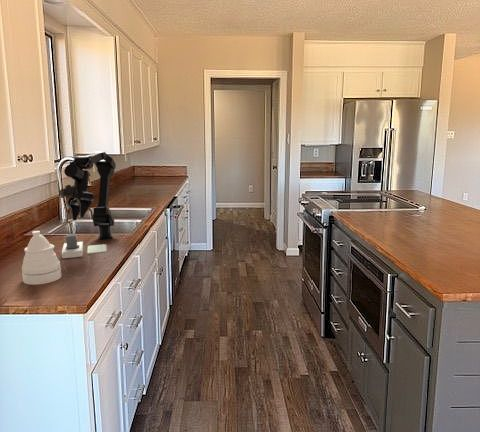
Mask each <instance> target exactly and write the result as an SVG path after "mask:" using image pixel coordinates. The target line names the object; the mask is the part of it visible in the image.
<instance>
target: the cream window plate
mask: <svg viewBox="0 0 480 432" xmlns="http://www.w3.org/2000/svg"><path fill="white" fill-rule="evenodd" d="M77 245H78V249H68V250H67V242H64V243H63V246H62V250H61V259H69V258H79V257H80V258H81V257H83V252H84V241H77Z"/></svg>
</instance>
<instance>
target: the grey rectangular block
mask: <svg viewBox="0 0 480 432" xmlns="http://www.w3.org/2000/svg"><path fill="white" fill-rule="evenodd" d="M77 237H78V236H77V233H71V234H66V236H65V239H66V243H67V250H68V249H78V245H77V242H78V238H77Z"/></svg>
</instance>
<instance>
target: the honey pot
mask: <svg viewBox="0 0 480 432" xmlns="http://www.w3.org/2000/svg"><path fill="white" fill-rule="evenodd" d="M31 234H32V235H33V236H32V237H31V238H30V240H29V242H28V244H27V246H26V247H25V248H23V249H24V250H23V251H24V252H25V253H24V254H25V255H24V257H23V261H22V265H21V274H22V282H23V283H24V284H25V285H33V286H34V285H43V284H48V283H53V282H56V281H58V280H59V279H61V278H62V268H61V261H60V260H59V259H58V256H57V254H56V252H55V251H54V248H55V245H54V244H52V243H50V242H49V240H48V239H47V238H46V237H45V236H44V235H43V234H41V231H40V230H33V231H32V232H31Z"/></svg>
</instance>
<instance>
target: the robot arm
mask: <svg viewBox="0 0 480 432" xmlns="http://www.w3.org/2000/svg"><path fill="white" fill-rule="evenodd" d="M93 167H96V168H97V169H96V170H97V173H98V175H99V187H98V198H97V199H98V201H97V206H96V207H93V209H92V211H93V213H92V217H91V218H92V223H93V226H94V227H98V240H105V239H106V240H107V239H113V234H112V230H111V229H112V226H115V219H114V217H113V216H112V211H111V210H110V207H109V200H110V184H111V178H112V176H113V175H114V174H115V169H116V162H115V160H114V159H113V157H111V156H110V155H109V154H107V152H106V151H103V150H102V151H100V150H99V151H97V150H96V151H94V152H93V153H90V154H88V155H78V156H77V155H76V156H74V158H73V160H72V161H70V162H69V164H68V165H66V166H65V168H64V170H63V171H64V172H63V173H64V174H65V177H68V178H69V179H71V180H73V181H74V182H73V185H70V184H67V185H65V186H64V188H60V189H59V191H58V192H59V195H60V198H61V199H63V198H64V199H65V198H67V197H70V198H68V199H66V201H65V205H66V206H67V207H68V208H69V209H70V213H71V217H72V221H77V218H78V216H79V217H80V218H84V217H85V215H86V213H87V211H88V210H89V208H90V206H91V205H92V203H93V202H94V200H95V194H94V193H93V192H88V189H90V185H89V179H90V178H89V177H91V173H90V172H89V170H91V169H92V168H93Z"/></svg>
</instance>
